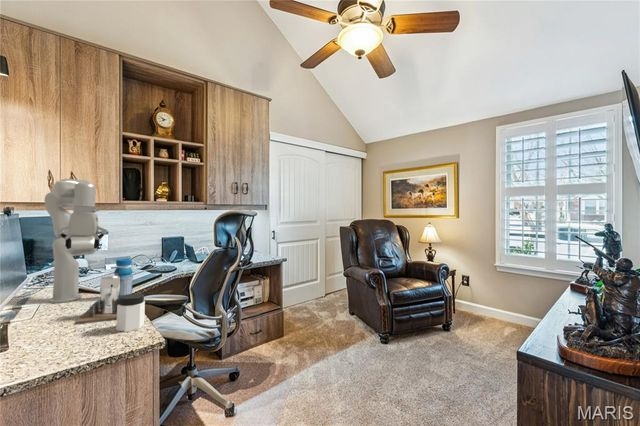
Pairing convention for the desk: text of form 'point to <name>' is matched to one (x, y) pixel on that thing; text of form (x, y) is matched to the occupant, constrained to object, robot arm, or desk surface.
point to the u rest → (96, 314)
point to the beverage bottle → (124, 276)
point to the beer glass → (109, 293)
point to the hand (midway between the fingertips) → (82, 248)
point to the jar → (130, 312)
